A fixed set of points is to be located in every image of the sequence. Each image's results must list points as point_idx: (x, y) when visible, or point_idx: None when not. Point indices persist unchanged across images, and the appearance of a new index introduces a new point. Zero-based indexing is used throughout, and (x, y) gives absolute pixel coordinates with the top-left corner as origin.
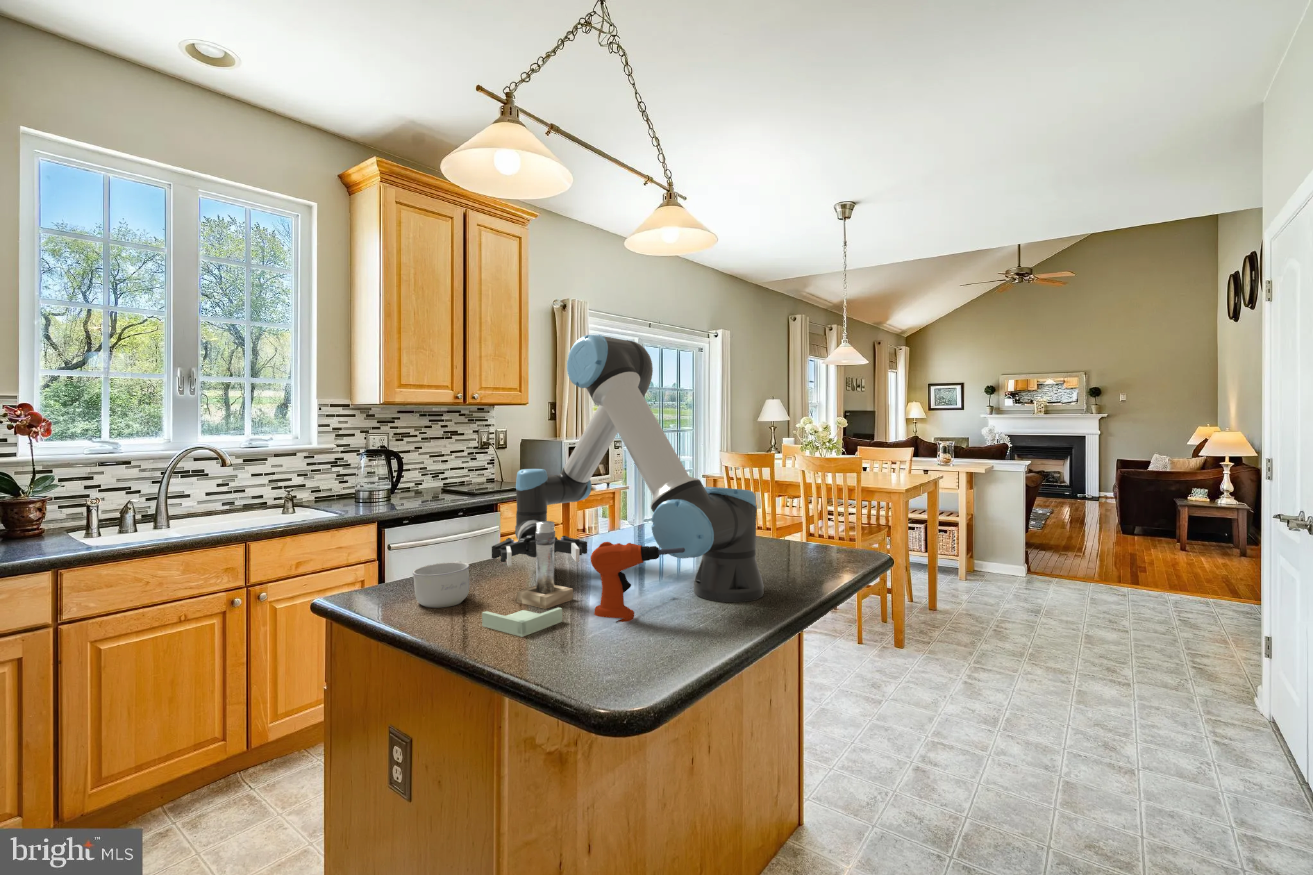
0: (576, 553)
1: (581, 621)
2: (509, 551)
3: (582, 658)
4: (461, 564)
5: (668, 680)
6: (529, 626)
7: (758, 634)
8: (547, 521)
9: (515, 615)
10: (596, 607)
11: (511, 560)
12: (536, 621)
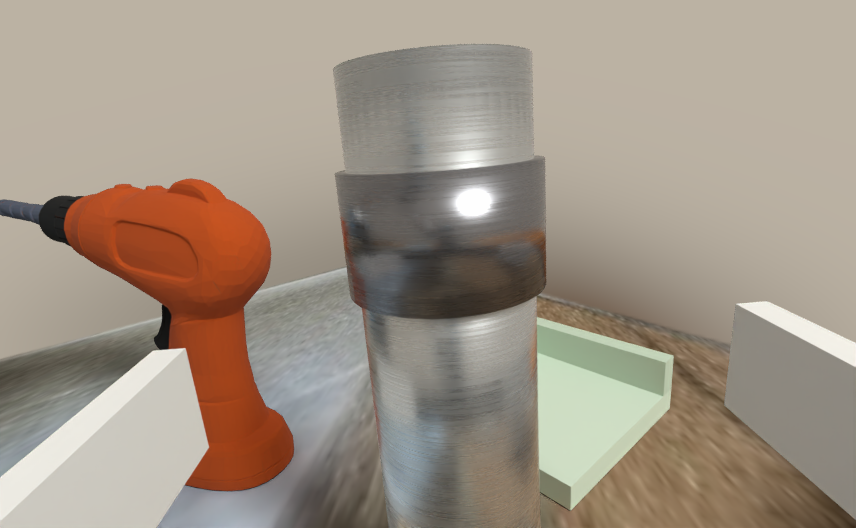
0: (188, 384)
1: (346, 440)
2: (780, 317)
3: None
4: None
5: (315, 282)
6: None
7: (35, 354)
8: (400, 56)
9: (583, 435)
10: (278, 425)
11: (730, 368)
12: None
